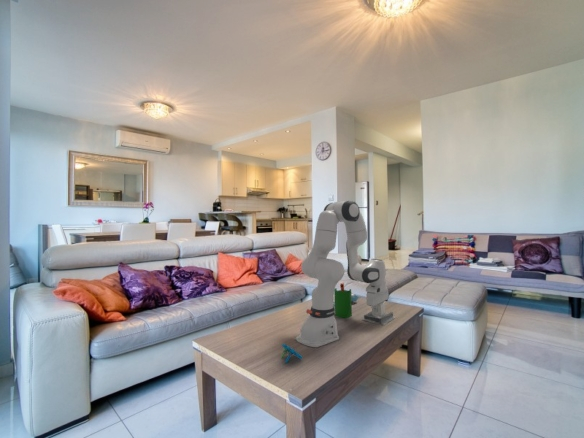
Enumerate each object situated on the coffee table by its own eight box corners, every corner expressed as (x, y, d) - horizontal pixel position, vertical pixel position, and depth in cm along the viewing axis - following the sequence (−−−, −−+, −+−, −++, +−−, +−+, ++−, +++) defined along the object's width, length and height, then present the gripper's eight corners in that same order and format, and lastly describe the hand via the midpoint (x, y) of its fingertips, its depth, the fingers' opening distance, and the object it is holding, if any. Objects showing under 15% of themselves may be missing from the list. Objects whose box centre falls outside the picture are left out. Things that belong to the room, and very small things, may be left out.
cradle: (383, 325, 150) (383, 320, 150) (362, 319, 159) (362, 314, 159) (395, 318, 161) (395, 313, 161) (374, 313, 170) (374, 308, 170)
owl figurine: (350, 284, 210) (367, 288, 199) (350, 296, 211) (367, 300, 199) (325, 291, 192) (343, 296, 181) (325, 304, 192) (343, 309, 181)
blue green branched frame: (307, 358, 113) (291, 345, 110) (300, 372, 111) (283, 359, 108) (294, 351, 123) (278, 339, 120) (286, 364, 120) (270, 351, 117)
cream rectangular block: (381, 317, 156) (381, 304, 156) (371, 314, 161) (370, 302, 161) (385, 314, 160) (385, 302, 160) (375, 312, 164) (374, 300, 164)
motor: (351, 313, 172) (350, 280, 172) (352, 318, 163) (351, 284, 163) (334, 312, 173) (333, 280, 173) (335, 317, 164) (334, 284, 164)
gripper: (381, 282, 170) (381, 305, 170) (364, 289, 155) (364, 313, 155) (391, 284, 165) (391, 307, 165) (374, 290, 151) (375, 316, 151)
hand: (378, 310), depth 160 cm, fingers closed on cream rectangular block, 5 cm apart
